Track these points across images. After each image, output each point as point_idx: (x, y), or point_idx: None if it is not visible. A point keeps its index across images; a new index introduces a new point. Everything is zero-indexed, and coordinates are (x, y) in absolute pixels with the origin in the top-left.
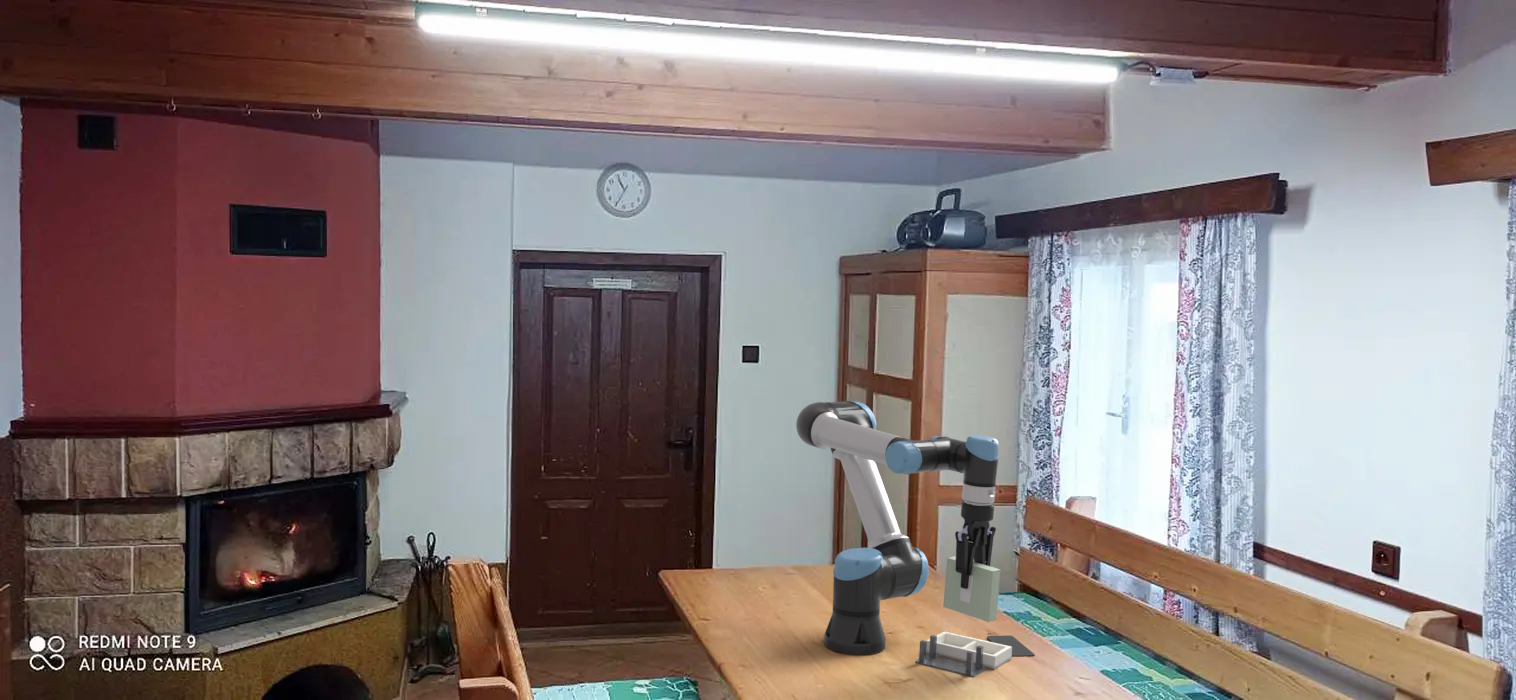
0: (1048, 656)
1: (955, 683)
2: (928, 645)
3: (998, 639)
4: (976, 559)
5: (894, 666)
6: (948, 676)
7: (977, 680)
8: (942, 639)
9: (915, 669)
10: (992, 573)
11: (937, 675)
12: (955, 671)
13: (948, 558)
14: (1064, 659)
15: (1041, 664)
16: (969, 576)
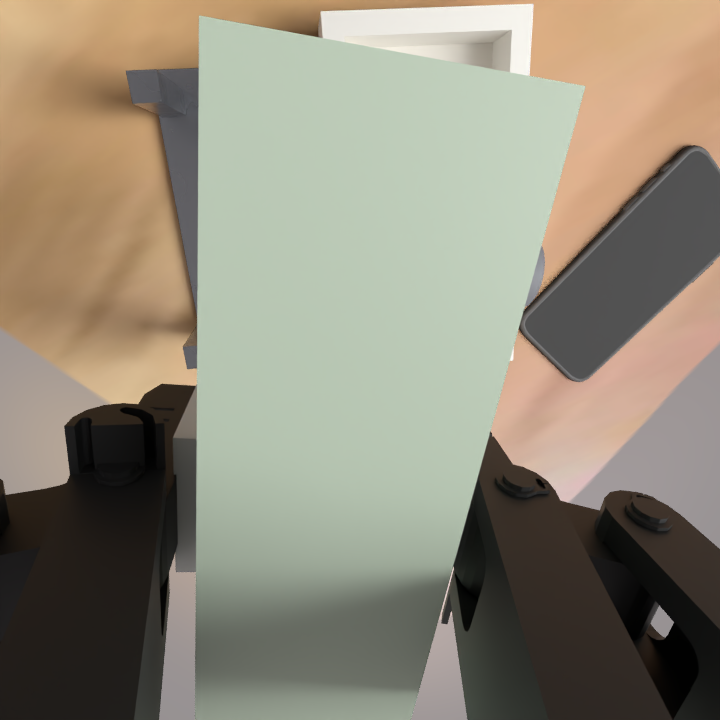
0: (600, 413)
1: (85, 339)
2: (320, 35)
3: (677, 205)
4: (499, 645)
5: (17, 17)
6: (129, 279)
7: (185, 376)
8: (464, 37)
9: (76, 126)
10: None
11: (99, 241)
12: (190, 277)
13: (199, 74)
14: (599, 458)
15: (505, 436)
16: (181, 535)
